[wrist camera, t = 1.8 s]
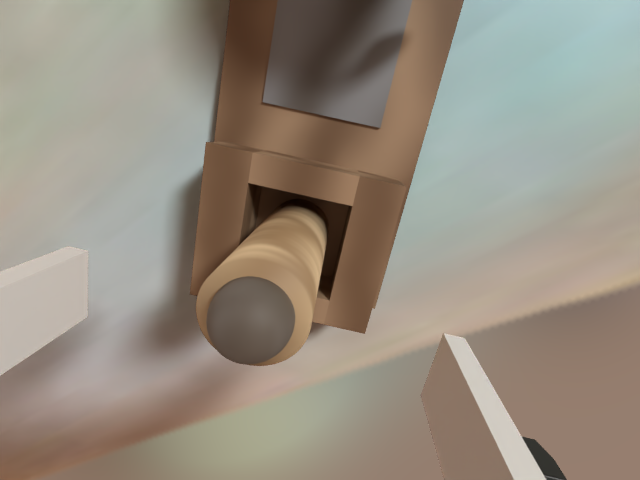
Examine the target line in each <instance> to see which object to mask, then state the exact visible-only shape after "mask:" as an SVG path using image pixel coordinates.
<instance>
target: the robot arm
mask: <svg viewBox="0 0 640 480" xmlns="http://www.w3.org/2000/svg"><path fill="white" fill-rule="evenodd" d="M87 317H88V251H87V250H82V249H78V248H74V247H69V246H67V247H65V248H62V249H59V250H57V251H54V252H51V253H49V254H46V255H43V256H41V257H38V258H35V259H33V260H30V261H27V262H25V263H22V264H20V265H17V266H14V267H12V268H9V269H6V270H4V271H1V272H0V376H1V375H2V374H4V373H5V372H7V371H8V370H10V369H11V368H12V367H14V366H15V365H17V364H18V363H20V362H21V361H23V360H24V359H26V358H27V357H29V356H30V355H32V354H33V353H35V352H36V351H38V350H39V349H41V348H42V347H44V346H45V345H47V344H48V343H50V342H51V341H53V340H54V339H56V338H57V337H58V336H60V335H61V334H63V333H64V332H66V331H67V330H69V329H70V328H72V327H73V326H75V325H76V324H78V323H79V322H81V321H82V320H84V319H85V318H87ZM421 398H422V402H423V405H424V409H425V412H426V416H427V420H428V423H429V427H430V431H431V435H432V438H433V442H434V445H435V449H436V453H437V456H438V460H439V464H440V467H441V470H442V474H443V478H444V480H566V478H565V476H564V475H563V473H562V471H561V470H560V468H559V467H558V465H557V464H556V462H555V460H554V459H553V458H552V457H551V456H550V455H549V454H548V453H547V452H546V451H545V450H544V449H543V448H542V447H541V445H540V444H538V442H536V440H534V439H530V438H525V437H521V435H520V433H519V432H518V430H517V428H516V426H515V425H514V423H513V421H512V419H511V418H510V416H509V414H508V412H507V411H506V409H505V407H504V406H503V404H502V402H501V400H500V399H499V397H498V395H497V393H496V392H495V390H494V388H493V386H492V385H491V383H490V381H489V379H488V378H487V376H486V374H485V373H484V371H483V369H482V367H481V366H480V364H479V362H478V360H477V359H476V357H475V355H474V354H473V352H472V350H471V348H470V347H469V345H468V343H467V341H466V340H465V338H462V337H458V336H453V335H449V334H445V333H443V336H442V338H441V341H440V344H439V347H438V349H437V352H436V355H435V358H434V360H433V363H432V366H431V369H430V371H429V374H428V377H427V380H426V382H425V385H424V388H423V391H422V393H421Z"/></svg>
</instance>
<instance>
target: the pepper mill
mask: <svg viewBox="0 0 640 480" xmlns="http://www.w3.org/2000/svg"><path fill="white" fill-rule="evenodd" d="M328 233H329V224H328V220H327V217H326V215H325V213H324V212H323V211H322V209H321V208H320V207H319V206H318V205H316V204H315V203H313V202H311V201H309V200H305V199H291V200H288V201H285V202H283V203H282V204H280V205H279V206H278V207H277V208H276V209H275V210H274V211H273V212H272V213H271V214H270V215H269V216H268V217H267V218H266V219H265V220H264V221H263V222H262V223H261V224H260V225H259V226H258V227H257V228H256V229H255V230H254V231H253V232H252V233H251V234H250V235H249V236H248V237H247V238H246V239H245V240H244V241H243V242H242V243H241V244H240V245H239V246H238V247H237V248H236V249H235V250H234V251H233V252H232V253H231V254H230V255H229V256H228V257H227V258H226V259H225V260H224V261H223V262H222V263H221V265H220V266H219V267H218V268H217V269H216V270H215V271H214V272H213V273H212V274H211V275H210V276H209V277H208V278H207V279H206V280H205V282H204V283H203V284H202V286H201V288H200V290H199V293H198V296H197V301H196V315H197V320H198V323H199V326H200V329H201V331H202V333H203V334H204V336H205V338H206V339H207V340H208V342H209V343H210V344H211V345H212V346H213V347H214V348H215V349H216V350H217V351H218V352H219V353H220V354H221V355H223V356H224V357H226V358H227V359H229V360H231V361H233V362H236V363H240V364H247V365H254V366H265V365H272V364H276V363H279V362H282V361H284V360H286V359H288V358H290V357H291V356H293V355H294V354H295V353H296V352H298V350H299V349H300V348H301V347H302V346H303V344H304V343H305V341H306V340H307V338H308V335H309V332H310V329H311V324H312V319H313V314H314V308H315V303H316V297H317V292H318V287H319V281H320V276H321V271H322V265H323V260H324V254H325V249H326V244H327V238H328Z"/></svg>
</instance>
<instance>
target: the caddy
mask: <svg viewBox="0 0 640 480" xmlns="http://www.w3.org/2000/svg"><path fill="white" fill-rule="evenodd" d="M463 1H464V0H230V6H229V15H228V24H227V32H226V41H225V50H224V59H223V68H222V76H221V85H220V94H219V103H218V112H217V121H216V129H215V138H214V142H206V147H205V156H204V166H203V175H202V184H201V194H200V203H199V213H198V222H197V231H196V241H195V250H194V260H193V269H192V278H191V288H190V294H191V295H196V296H198V293H199V290H200V288H201V286H202V284H203V283H204V282H205V280H206V279H207V278H208V277H209V276H210V275H211V274H212V273H213V272H214V271H215V270H216V269H217V268H218V267H219V266H220V265H221V263H222V262H223V261H224V260H225V259H226V258H227V257H228V256H229V255H230V254H231V253H232V252H233V251H234V250H235V249H236V248H237V247H238V246H239V245H240V244H241V243H242V242H243V241H244V240H245V239H246V238H247V237H248V236H249V235H250V234H251V233H252V232H253V231H254V230H255V229H256V228H257V227H258V226H259V225H260V224H261V223H262V222H263V221H264V220H265V219H266V218H267V217H268V216H269V215H270V214H271V213H272V212H273V211H274V210H275V209H276V208H277V207H278V206H279V205H280V204H282V203H283V202H285V201H288V200H291V199H305V200H309V201H311V202H313V203H315V204H316V205H318V206H319V207H320V208H321V209H322V211H323V212H324V213H325V215H326V217H327V220H328V224H329V233H328V238H327V244H326V249H325V254H324V260H323V265H322V271H321V276H320V281H319V287H318V292H317V297H316V303H315V308H314V314H313V319H312V322H315V323H320V324H324V325H329V326H333V327H337V328H342V329H346V330H351V331H355V332H359V333H364V334H365V331H366V328H367V324H368V321H369V317H370V314H371V310H372V308H375V306H376V302H377V299H378V295H379V292H380V288H381V285H382V282H383V278H384V275H385V271H386V268H387V264H388V261H389V257H390V254H391V250H392V247H393V244H394V240H395V237H396V233H397V230H398V226H399V223H400V219H401V216H402V212H403V209H404V205H405V202H406V199H407V195H408V192H409V188H410V185H411V181H412V178H413V174H414V171H415V167H416V164H417V161H418V157H419V154H420V150H421V147H422V143H423V140H424V136H425V133H426V129H427V126H428V122H429V119H430V116H431V112H432V109H433V105H434V102H435V98H436V95H437V91H438V88H439V84H440V81H441V78H442V74H443V71H444V67H445V64H446V60H447V57H448V53H449V50H450V46H451V43H452V39H453V36H454V33H455V29H456V26H457V22H458V19H459V15H460V12H461V8H462V5H463Z"/></svg>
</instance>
